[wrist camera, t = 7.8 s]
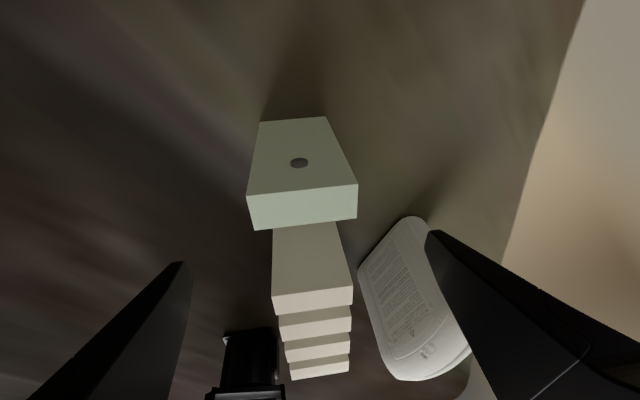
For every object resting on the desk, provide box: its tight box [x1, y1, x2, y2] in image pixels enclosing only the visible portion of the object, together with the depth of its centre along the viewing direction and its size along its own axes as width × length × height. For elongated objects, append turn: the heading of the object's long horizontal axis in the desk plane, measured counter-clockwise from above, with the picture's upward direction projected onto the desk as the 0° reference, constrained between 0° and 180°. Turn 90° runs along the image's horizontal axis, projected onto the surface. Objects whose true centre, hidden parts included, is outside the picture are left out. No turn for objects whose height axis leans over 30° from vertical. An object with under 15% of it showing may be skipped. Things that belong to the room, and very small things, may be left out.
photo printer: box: [357, 216, 472, 381], centre depth 24 cm, size 10×4×12 cm, turn 152°
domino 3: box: [279, 305, 351, 342], centre depth 22 cm, size 5×2×10 cm, turn 92°
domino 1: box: [246, 116, 358, 231], centre depth 16 cm, size 5×2×10 cm, turn 92°
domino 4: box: [285, 332, 350, 363], centre depth 24 cm, size 5×2×10 cm, turn 92°
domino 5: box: [290, 353, 349, 380], centre depth 26 cm, size 5×2×10 cm, turn 92°
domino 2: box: [271, 221, 353, 315], centre depth 20 cm, size 5×2×10 cm, turn 92°
